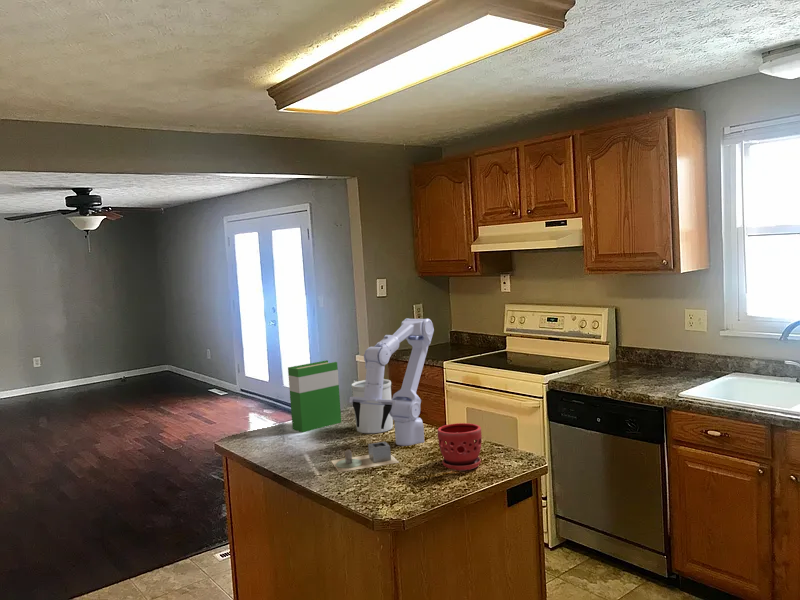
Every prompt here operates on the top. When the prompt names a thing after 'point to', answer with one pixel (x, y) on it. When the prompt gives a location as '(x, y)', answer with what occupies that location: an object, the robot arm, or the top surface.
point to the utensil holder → (372, 409)
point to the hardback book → (314, 395)
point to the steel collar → (379, 452)
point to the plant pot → (460, 445)
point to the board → (358, 462)
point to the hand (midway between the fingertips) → (370, 427)
